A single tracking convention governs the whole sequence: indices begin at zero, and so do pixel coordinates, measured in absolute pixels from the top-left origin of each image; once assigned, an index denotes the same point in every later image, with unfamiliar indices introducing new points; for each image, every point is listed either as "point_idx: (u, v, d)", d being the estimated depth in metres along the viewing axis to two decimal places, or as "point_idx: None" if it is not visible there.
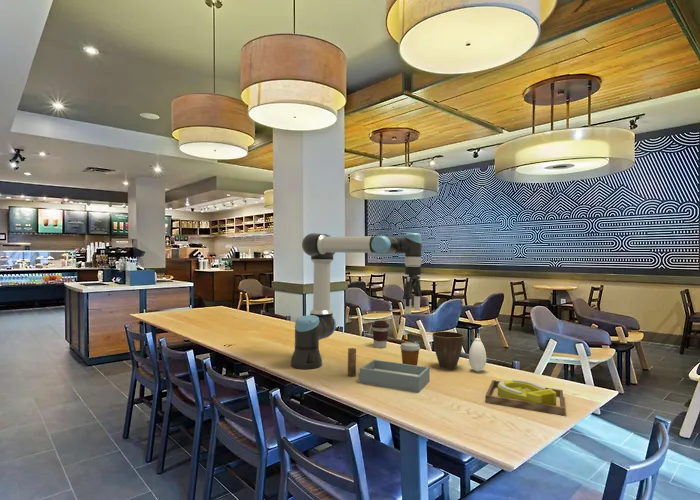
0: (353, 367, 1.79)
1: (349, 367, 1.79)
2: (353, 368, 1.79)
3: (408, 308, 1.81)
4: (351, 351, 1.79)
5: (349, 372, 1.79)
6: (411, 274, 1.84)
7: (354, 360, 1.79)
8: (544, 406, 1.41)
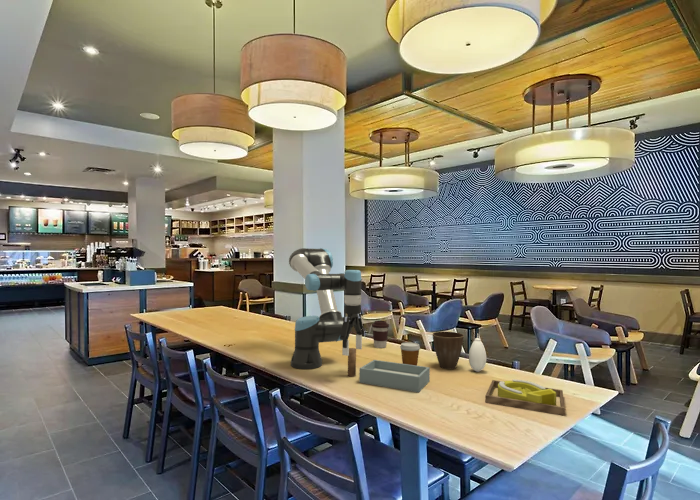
0: (353, 367, 1.79)
1: (349, 367, 1.79)
2: (353, 368, 1.79)
3: (345, 349, 1.74)
4: (351, 351, 1.79)
5: (349, 372, 1.79)
6: (349, 313, 1.77)
7: (354, 360, 1.79)
8: (544, 406, 1.41)
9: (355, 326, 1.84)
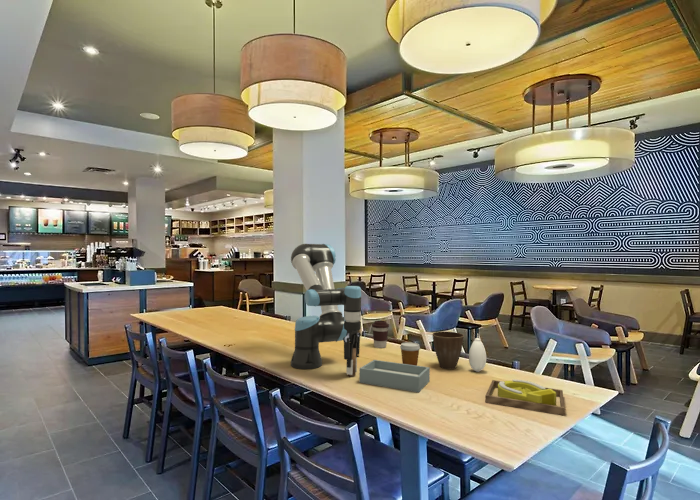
0: (353, 367, 1.79)
1: None
2: (353, 368, 1.79)
3: (349, 369, 1.78)
4: None
5: None
6: (349, 330, 1.77)
7: (354, 359, 1.79)
8: (544, 406, 1.41)
9: (352, 345, 1.82)
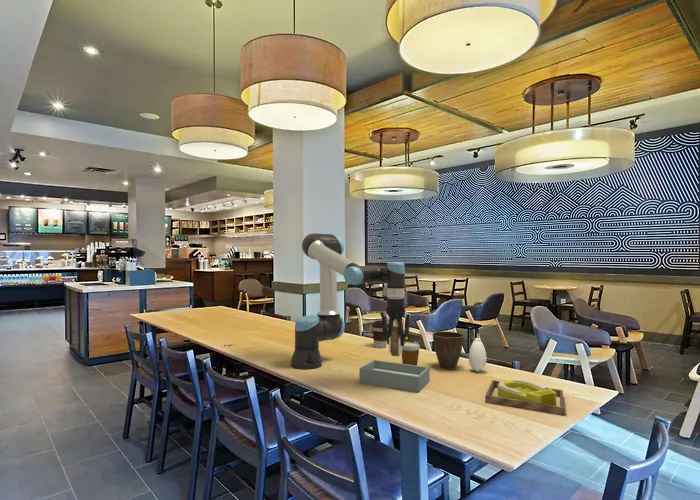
0: (392, 345, 1.72)
1: None
2: (392, 346, 1.72)
3: None
4: (391, 328, 1.73)
5: None
6: None
7: (392, 338, 1.71)
8: (544, 406, 1.41)
9: None
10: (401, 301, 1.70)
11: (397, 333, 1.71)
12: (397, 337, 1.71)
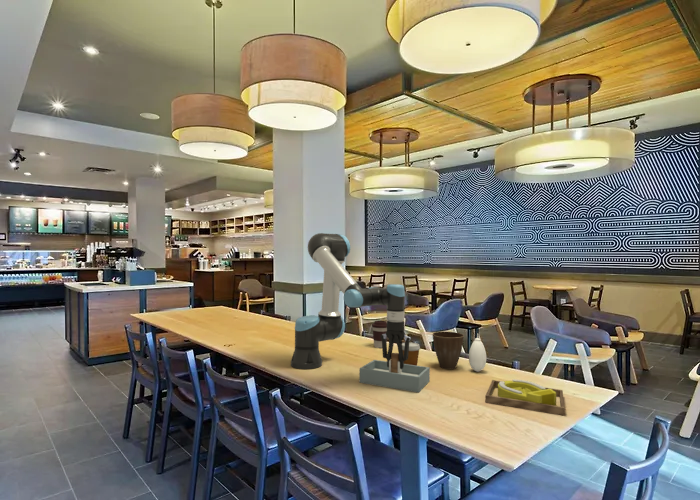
0: None
1: None
2: None
3: None
4: (391, 355, 1.73)
5: None
6: None
7: (392, 365, 1.71)
8: (544, 406, 1.41)
9: None
10: (401, 324, 1.70)
11: (397, 360, 1.71)
12: (397, 364, 1.71)
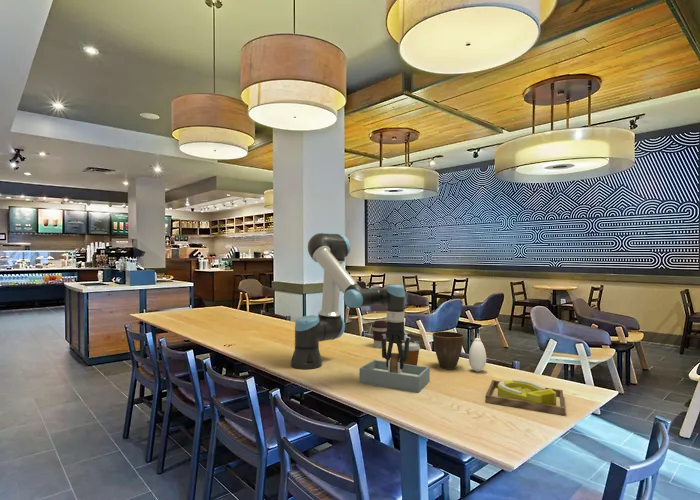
0: None
1: None
2: None
3: None
4: None
5: None
6: None
7: (391, 365, 1.72)
8: (544, 406, 1.41)
9: None
10: (401, 324, 1.70)
11: (396, 360, 1.71)
12: (396, 364, 1.71)
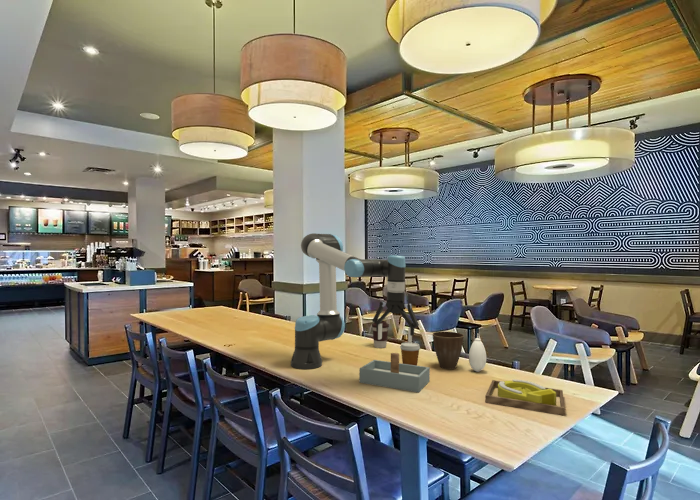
0: None
1: None
2: None
3: None
4: None
5: None
6: None
7: (391, 365, 1.72)
8: (544, 406, 1.41)
9: None
10: (401, 295, 1.70)
11: (396, 360, 1.71)
12: (396, 364, 1.71)
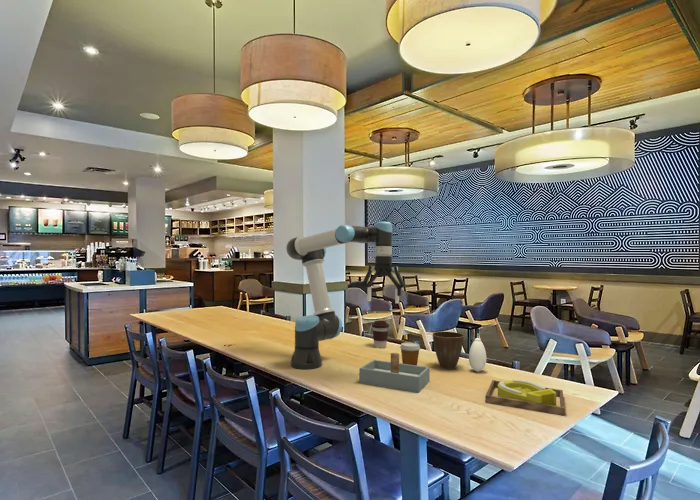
0: None
1: None
2: None
3: None
4: None
5: None
6: None
7: (391, 365, 1.72)
8: (544, 406, 1.41)
9: None
10: (388, 258, 1.81)
11: (396, 360, 1.71)
12: (396, 364, 1.71)
